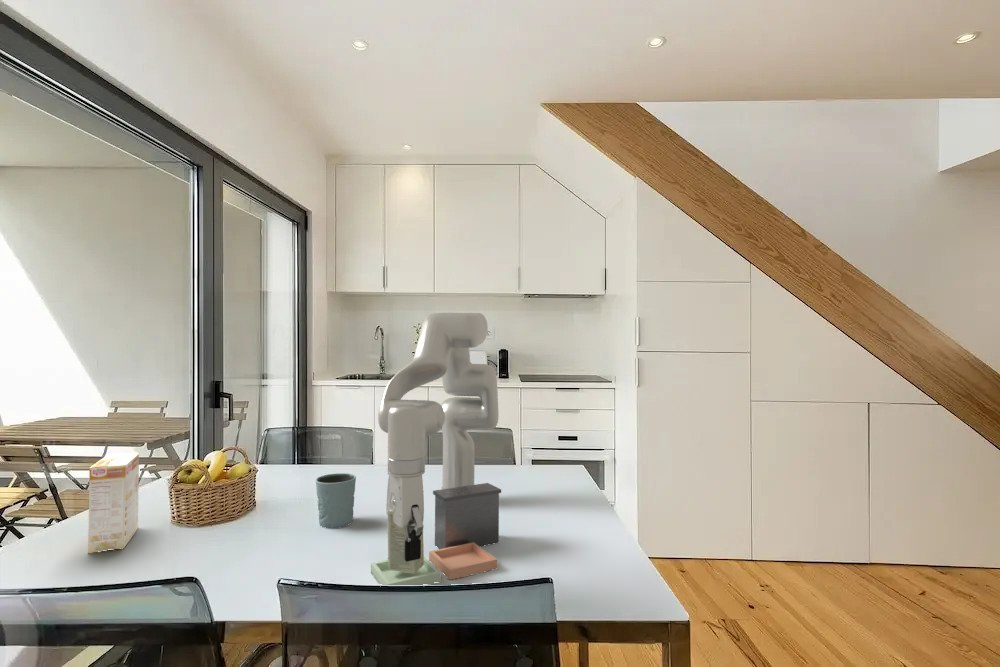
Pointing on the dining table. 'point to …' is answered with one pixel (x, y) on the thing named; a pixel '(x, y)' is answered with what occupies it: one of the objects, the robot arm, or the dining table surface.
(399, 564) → the skincare box
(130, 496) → the coffeecake box
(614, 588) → the dining table surface
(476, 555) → the terracotta tray
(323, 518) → the grey-green cup
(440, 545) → the charcoal unit
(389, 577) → the sage tray
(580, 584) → the dining table surface
